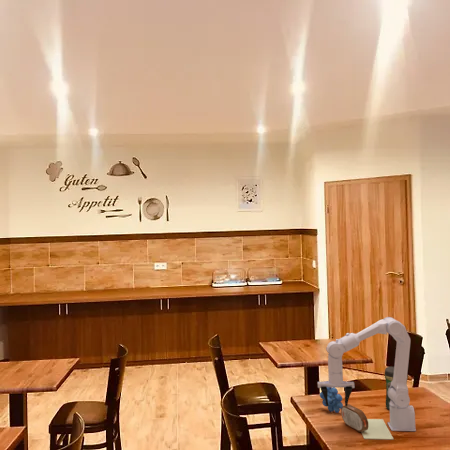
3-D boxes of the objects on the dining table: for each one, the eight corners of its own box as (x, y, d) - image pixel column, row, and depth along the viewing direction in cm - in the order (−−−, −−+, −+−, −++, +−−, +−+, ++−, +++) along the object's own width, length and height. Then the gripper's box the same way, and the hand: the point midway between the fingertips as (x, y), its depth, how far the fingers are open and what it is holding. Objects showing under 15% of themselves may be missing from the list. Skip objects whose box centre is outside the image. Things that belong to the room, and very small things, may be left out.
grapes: (315, 411, 220) (314, 384, 220) (323, 407, 224) (322, 381, 225) (337, 417, 212) (336, 389, 212) (345, 413, 216) (345, 386, 217)
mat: (382, 419, 208) (382, 419, 208) (393, 439, 188) (393, 438, 188) (356, 419, 209) (356, 418, 209) (364, 439, 189) (364, 438, 189)
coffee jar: (412, 409, 218) (410, 368, 219) (402, 414, 213) (401, 371, 214) (392, 404, 226) (391, 364, 226) (382, 408, 221) (381, 367, 221)
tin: (369, 433, 193) (368, 412, 193) (363, 435, 192) (361, 413, 192) (347, 421, 207) (345, 401, 207) (340, 423, 206) (339, 402, 206)
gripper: (352, 369, 204) (353, 401, 203) (316, 369, 205) (317, 401, 205) (354, 373, 197) (355, 407, 196) (318, 373, 198) (319, 407, 198)
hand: (336, 405), depth 200 cm, fingers open, 7 cm apart
